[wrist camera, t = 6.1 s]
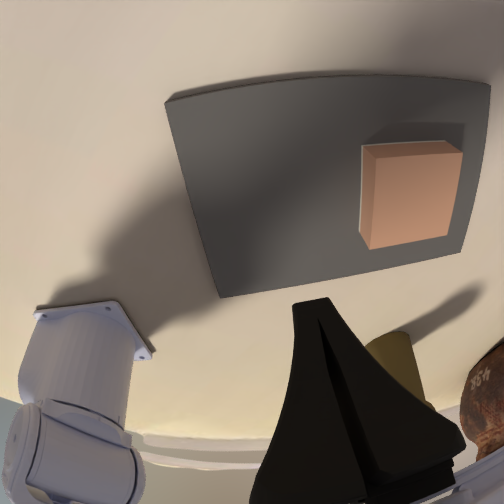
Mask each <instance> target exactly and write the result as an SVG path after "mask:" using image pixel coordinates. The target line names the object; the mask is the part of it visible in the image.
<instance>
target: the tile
mask: <svg viewBox="0 0 504 504" xmlns="http://www.w3.org/2000/svg"><path fill="white" fill-rule="evenodd" d="M462 157H463V152H461V151H460V150H458V149H457V148H455V147H454V146H452V145H451V144H449V143H448V142H447V141H445V140H439V141H414V142H396V143H381V144H369V145H361V198H360V219H359V232H360V234H361V236H362V237H363V239H364V241H365V243H366V244H367V246H368V248H369V250H371V249H376V248H382V247H387V246H393V245H398V244H403V243H409V242H414V241H419V240H424V239H429V238H435V237H440V236H445V235H447V233H448V229H449V225H450V221H451V216H452V212H453V207H454V202H455V197H456V192H457V187H458V182H459V176H460V170H461V163H462Z"/></svg>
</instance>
